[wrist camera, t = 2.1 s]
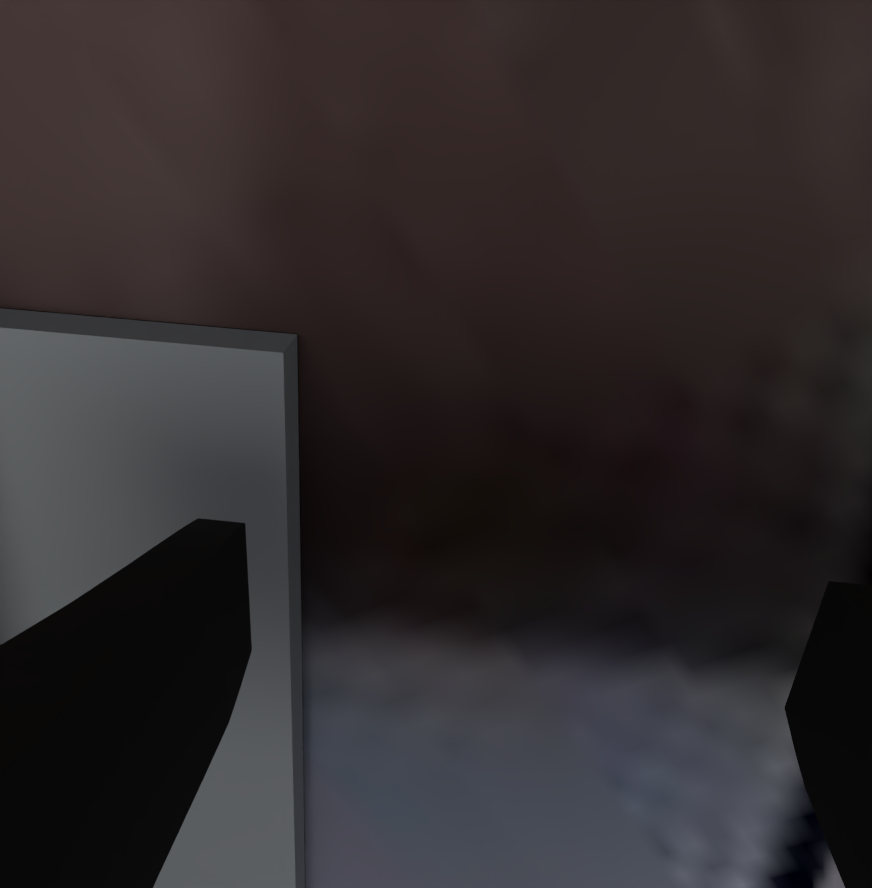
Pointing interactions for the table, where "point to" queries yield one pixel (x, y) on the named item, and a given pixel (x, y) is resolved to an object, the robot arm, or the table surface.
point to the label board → (168, 533)
